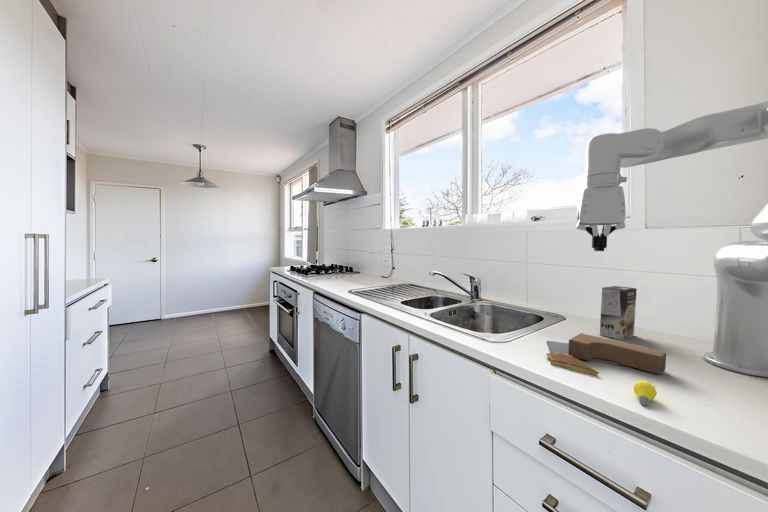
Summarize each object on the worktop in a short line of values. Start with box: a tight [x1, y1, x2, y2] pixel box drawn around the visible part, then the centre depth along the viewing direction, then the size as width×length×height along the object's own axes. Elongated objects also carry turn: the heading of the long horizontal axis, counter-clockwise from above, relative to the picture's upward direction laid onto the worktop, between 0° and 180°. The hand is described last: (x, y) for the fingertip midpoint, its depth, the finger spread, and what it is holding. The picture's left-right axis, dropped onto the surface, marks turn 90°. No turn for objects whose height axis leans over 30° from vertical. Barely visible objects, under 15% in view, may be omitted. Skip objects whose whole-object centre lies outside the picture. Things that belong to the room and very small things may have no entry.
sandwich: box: [545, 352, 600, 377], centre depth 72 cm, size 11×8×2 cm
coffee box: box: [599, 285, 638, 341], centre depth 95 cm, size 9×6×16 cm
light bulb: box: [633, 380, 658, 407], centre depth 57 cm, size 3×6×4 cm, turn 137°
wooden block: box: [568, 333, 667, 375], centre depth 73 cm, size 9×4×18 cm
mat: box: [546, 340, 628, 367], centre depth 80 cm, size 24×11×1 cm, turn 66°
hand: (598, 250), depth 78 cm, fingers closed
